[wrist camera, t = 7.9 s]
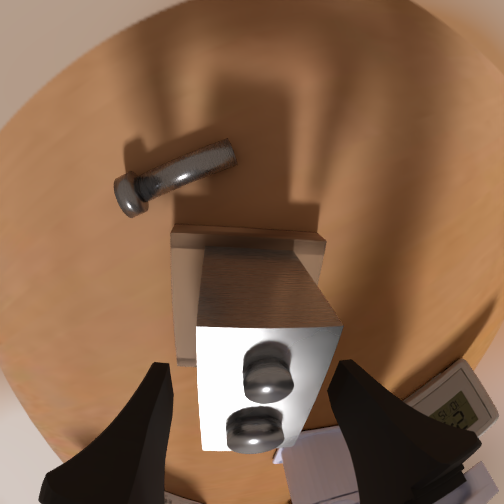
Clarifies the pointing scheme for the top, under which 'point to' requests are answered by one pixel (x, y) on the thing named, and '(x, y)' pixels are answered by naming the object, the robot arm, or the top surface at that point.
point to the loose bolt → (171, 176)
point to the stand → (191, 261)
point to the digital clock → (456, 399)
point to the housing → (259, 348)
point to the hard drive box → (177, 499)
